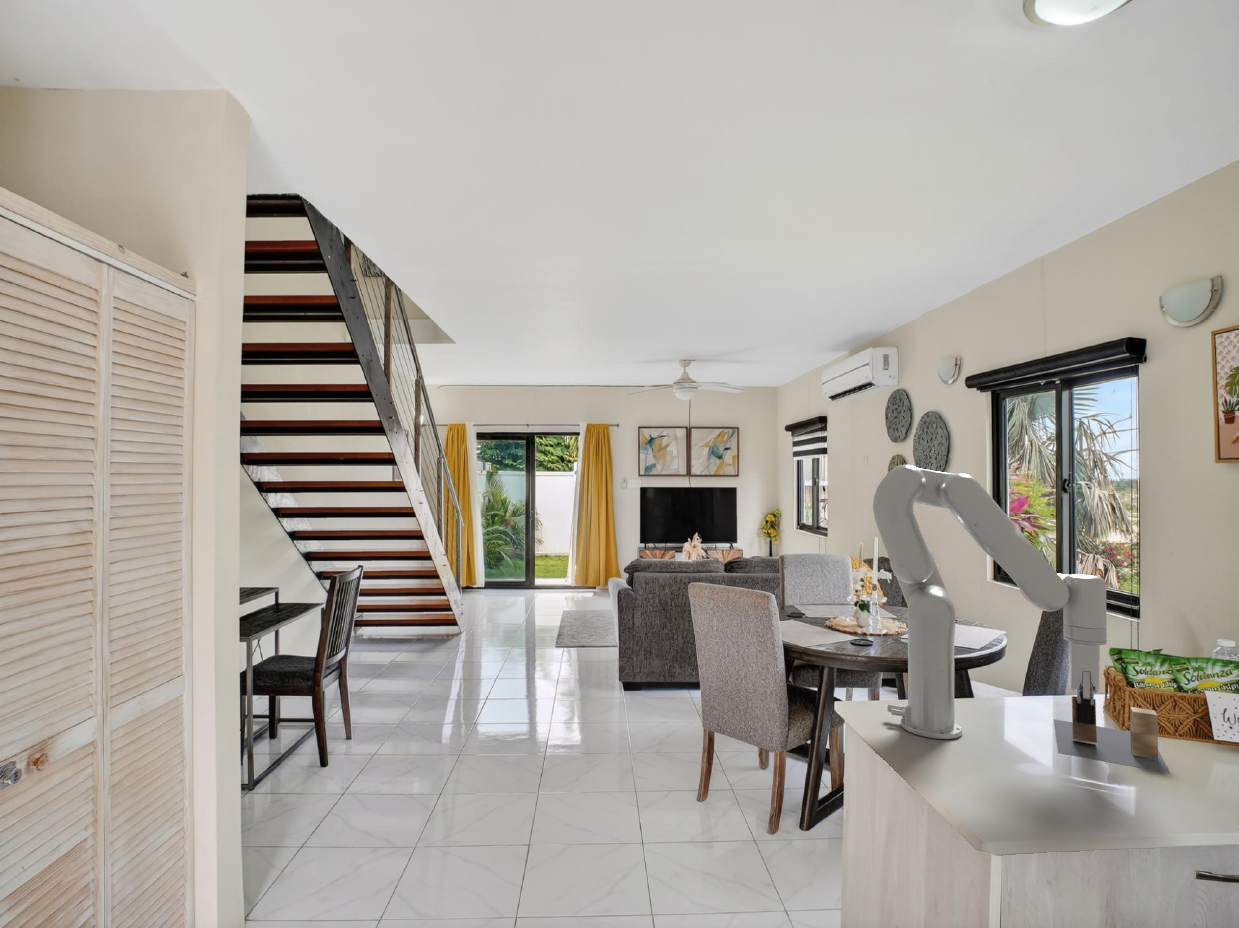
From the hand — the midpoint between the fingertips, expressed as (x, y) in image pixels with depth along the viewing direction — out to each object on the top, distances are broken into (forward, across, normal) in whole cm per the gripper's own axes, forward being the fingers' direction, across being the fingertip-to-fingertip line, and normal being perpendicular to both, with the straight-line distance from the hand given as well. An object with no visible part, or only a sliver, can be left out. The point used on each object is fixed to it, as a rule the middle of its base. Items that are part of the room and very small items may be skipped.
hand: (1085, 722), depth 142 cm
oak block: (+5, -2, +10) cm, 11 cm away
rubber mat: (+6, -6, +4) cm, 9 cm away
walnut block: (+5, -2, 0) cm, 5 cm away
